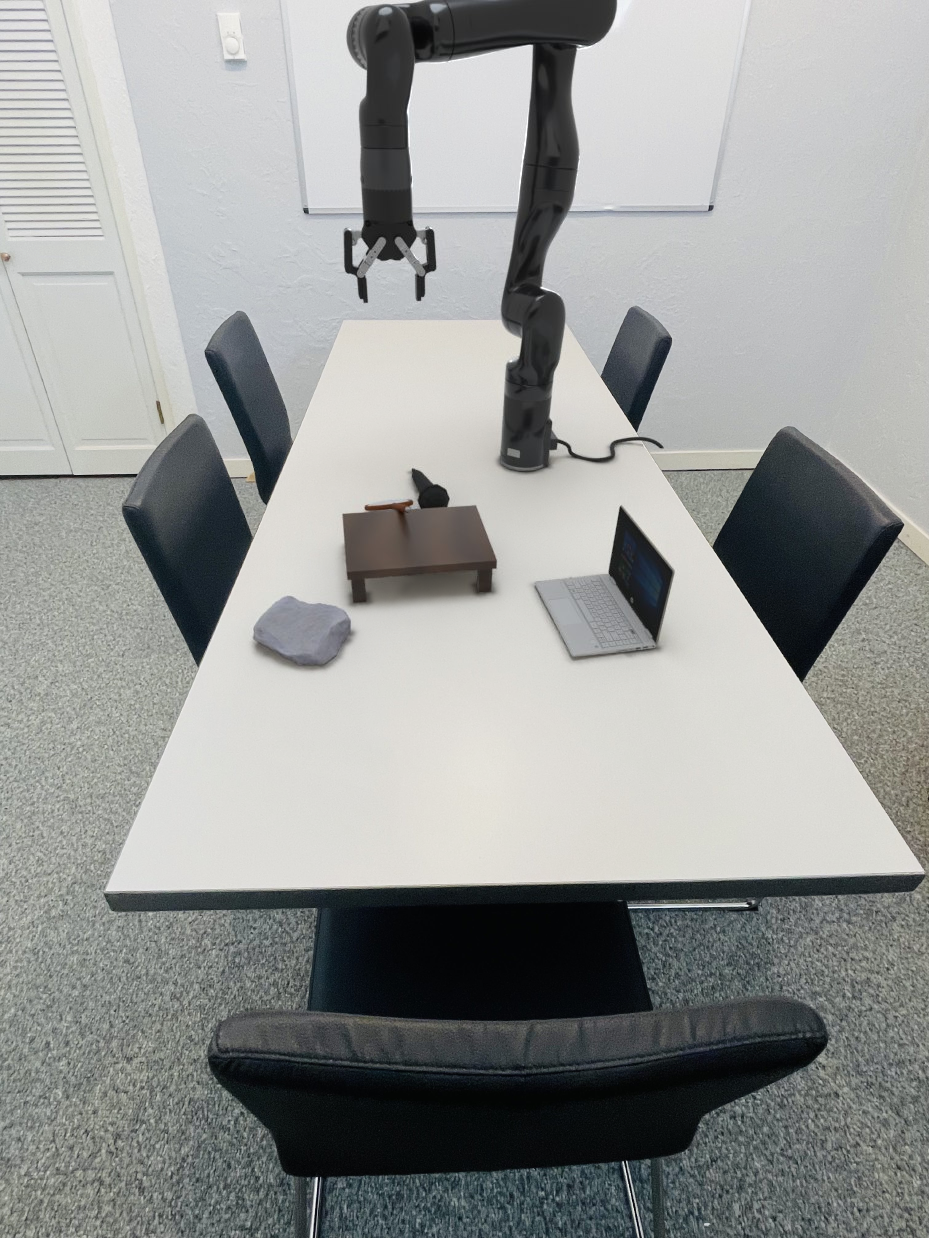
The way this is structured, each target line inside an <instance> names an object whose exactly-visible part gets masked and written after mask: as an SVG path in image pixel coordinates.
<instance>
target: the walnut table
mask: <svg viewBox="0 0 929 1238" xmlns="http://www.w3.org/2000/svg"><path fill="white" fill-rule="evenodd" d="M480 514H481V513H480V511H479V509H478V507H477V505H476V504H473V505H472V504H471V505H457V506H447V507H440V508H424V509H420V508H411V511H410V512H409V513H405V512H401V511H398V510H388V511H365V512H347V513H346V512H345V513H342V527H343V541H344V554H345V568H346V578H347V579H346V580H347V581H350V583H351V584H350V585H351V595H352V603H353V604H357V603H359V604H360V603H367V601H368V600H367V590H366V580H369V579H370V580H371V579H381V578H383V579H384V578H395V577H409V576H419V575H433V574H446V573H461V572H472V571H473V572H474V571H476V578H475V579H476V581H475V586H476V589H477V592H478V594H479V593H480V594H481V593H490V592H492V585H493V570H497V569H498V559H497V557H496V554H495V552H494V548H493V546H492V543H491V541H490V539H489V535H488V533H487V530H486V527H485V525H484V523H483V519H482V517H481V515H480Z"/></svg>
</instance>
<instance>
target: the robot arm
mask: <svg viewBox="0 0 929 1238" xmlns="http://www.w3.org/2000/svg"><path fill="white" fill-rule="evenodd" d="M617 10H618V0H419V1H416V2H403V3H382V4H381V3H380V4H374V5H367V6H364V7H362V8H360V9H359V10H357V11H355V13H354V14H353V15H352V17H350V20H349V22H348V24H347V28H346V33H345V34H346V37H345V38H346V46H347V50H348V52H349V54H350V57H351V58H352V60H353V62H354V63H355V64H356V65H357V66H358V67H360V68H361V69H362V70H364V71H366V82H365V83H366V84H365V85H366V86H365V87H366V88H365V95H364V96H363V98H362V99H361V100H360V102H359V105H358V129H359V130H358V131H359V143H360V144H359V145H360V155H359V156H360V158H359V173H360V174H359V175H360V177H359V180H360V189H361V190H360V191H361V204H362V205H361V206H362V221H363V223H362V224H363V225H362V227H361V229H350V227H345V228H344V229H343V231H342V232H343V233H342V235H343V267H344V271H345V273H346V274H348V275H353V276H355V277H356V282H357V295H358V297H359V300H362V302H363V304H369V297H368V294H369V293H368V282H367V280H368V279H367V276H366V274H367V273H368V271H369V269H370V268H371V267H372V265H373V264H374V262H375V260H376V259H377V260H378V261H380V262H387V261H390V260H392V261H395V262H397V261H398V262H399V261H401V260H404V258H405V259H406V261H408V263H409V264H410V265H411V267H412V268H413V270H414V271H415V273H414V292H415V293H414V294H415V295H414V297H415V300H416V302H422V298H425V296H426V276H427V274H429V273H432V272H433V273H434V272H436V271H437V254H436V253H437V252H436V237H435V231H434V229H433V228H432V227H431V226H429V225H427V226H426V227H425V228H415V225H414V224H415V223H414V200H413V199H414V198H413V197H414V195H413V183H414V176H413V166H412V157H411V149H410V148H411V147H410V120H409V108H410V102H411V98H412V91H413V83H414V74H415V65H416V64H442V63H443V64H445V63H450V62H456V61H462V60H467V59H472V58H477V57H481V56H486V55H489V54H493V53H494V54H495V53H498V52H502V51H508V50H512V49H516V48H523V47H528V46H529V47H530V46H532V55H531V56H532V57H531V81H530V94H529V100H528V109H527V110H528V112H527V122H526V131H525V140H524V148H523V153H522V161H521V162H522V163H521V170H520V177H519V186H518V187H519V188H518V198H517V199H518V201H517V209H516V217H515V222H514V223H515V224H514V231H513V239H512V245H511V252H510V257H509V263H508V268H507V273H506V277H505V281H504V286H503V291H502V296H501V303H500V321H501V323H502V327H503V328H504V329H505V330H506V332H507V333H509V334H510V335H512V336H514V337H516V338H519V339H521V341H520V349H519V355H518V356H513V357H511V358H509V359H508V360H507V361H506V363H505V371H504V386H503V387H504V388H503V402H502V403H503V404H502V420H501V421H502V423H501V438H500V450H499V451H500V455H499V462H500V464H501V465H502V466H503V467H505V468H506V469H510V470H512V471H518V472H531V471H532V472H533V471H536V470H537V471H538V470H540V469H542V468H547V467H549V461H550V452H551V451H557V450H558V444H559V445H563V447H566V449H567V452H568V455H569V456H571V457H573V458H575V459H578V460H582V461H586V462H587V461H588V462H593V463H601V462H607V461H611V460H613V459H614V458H615V455H616V450H615V446H616V445H618V444H621V443H628V442H635V441H636V442H637V441H640V442H648V443H651V444H653V445H655V446H656V447H657V448H658V449H665V447H664V446H663V444H662V443H660V442H659V441H658V440H656V439H653V438H650V437H645V436H630V437H623V438H619V439H615V440H613V441H611V443H610V445H609V448H610V455H608V456H603V457H588V456H582V455H580V454H577V453H575V452H574V451H573V450H572V446H571V444H570V443H568V442H567V441H565V440H562V439H560V438H558V436H557V435H556V433H555V432H554V431H553V420H552V419H551V409H552V408H551V407H552V397H553V396H552V395H553V388H554V387H553V386H554V377H555V371H556V370H557V367H558V365H559V363H560V360H561V356H562V355H561V354H562V348H563V342H564V336H565V335H564V334H565V329H566V319H567V316H566V315H567V314H566V306H565V305H566V304H565V302H564V299H563V298H562V296H561V295H560V294H559V293H557V292H555V291H553V290H551V289H548V288H546V287H543V277H544V270H545V264H546V260H547V255H548V253H549V249H550V247H551V244H552V243H553V241H554V239H555V237H556V235H558V232H559V230H560V229H561V227H562V226H563V224H564V222H565V220H566V218H567V216H568V215H569V212H570V210H571V207H572V206H573V202H574V198H575V193H576V186H577V181H578V175H579V166H580V158H581V157H580V156H581V155H580V154H581V153H580V152H581V151H580V141H579V134H578V129H577V124H576V119H575V112H574V107H573V95H572V91H573V79H574V71H575V64H576V58H577V52H578V50H585V49H588V48H591V47H593V46H595V45H596V44H598V43H600V42H601V41H602V40H603V39H605V37H606V36H607V35H608V33H609V32H610V31H611V30H612V29H611V28H612V27H613V24H614V22H615V19H616V15H617ZM417 238H419V239H420V243H421V244H423V245H424V246H425V256H426V262H424V263H421V262H420V261H419V259H418V258H417V256H416V255H415V254H414V252H413V251H412V249H411V248H412V247H413V245H414V244H415V241H416V240H417ZM360 239H362V241H363V243H364V244H365V246H366V247H367V249H366V251H365V252H364V254H363V255H362V258H361V260H360V262H359V263H358V265H356V264H354V261H353V259H354V257H353V247H355V246H357V245H358V241H359V240H360Z"/></svg>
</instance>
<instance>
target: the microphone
mask: <svg viewBox="0 0 929 1238" xmlns="http://www.w3.org/2000/svg"><path fill="white" fill-rule="evenodd" d="M411 480H412V481H413V484H414V485H415V488H416V490H417V493H418V498H417V503H418V506H419V509H424V508H440V507H449V503H450V496H449V493H448V491H447V488H445V487H443V486H441V485H440V484H438V483H433V482H432V481H431V480H430V479H429V478H428V477H427V475H425V473H423V472H422V471H421V470H419V469H416V468H414V467H412V468H411Z"/></svg>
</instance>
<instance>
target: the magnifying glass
mask: <svg viewBox="0 0 929 1238" xmlns="http://www.w3.org/2000/svg"><path fill="white" fill-rule="evenodd" d="M413 505H414V500H413V499H404V498H403V499H402V498H398V499H397V498H396V499H394V498H393V499H386V500H380V501H376V502H372V503H369V504H366V505H364V507H363V508H364V511H365V512H377V511H393V510H398V511H401V512H405V513H409V512H410V511H411V509H412V508H411V506H413Z"/></svg>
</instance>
